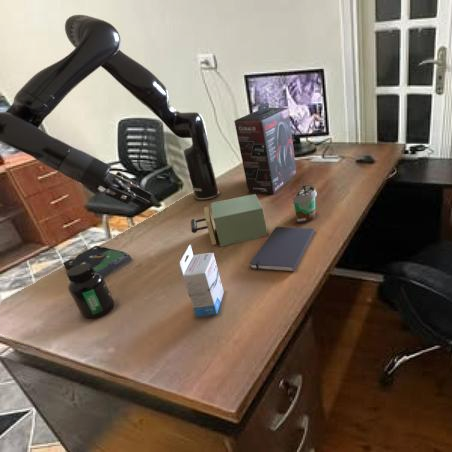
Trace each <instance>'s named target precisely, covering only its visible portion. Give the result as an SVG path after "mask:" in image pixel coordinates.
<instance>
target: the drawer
mask: <svg viewBox="0 0 452 452" xmlns="http://www.w3.org/2000/svg"><path fill="white" fill-rule="evenodd" d="M203 208H204V216H205V217H204V218H200V219H196V218H192V219H191V220H190V230H191V231H190V232H191V233H192V234H196V233H197V232H198V231H202V230H206V229H207V230H208V235H209V238H210V242H211V245H216V244H217V239H216V234H215V233H216V232H215V229H214V227H215V226H214V223H213V221H212V216H211V212H210V209H209V206H206V207H203ZM200 222H205V223H206V225H205V226H201V227H200V226H199V227H198V224H197V223H200Z"/></svg>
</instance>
